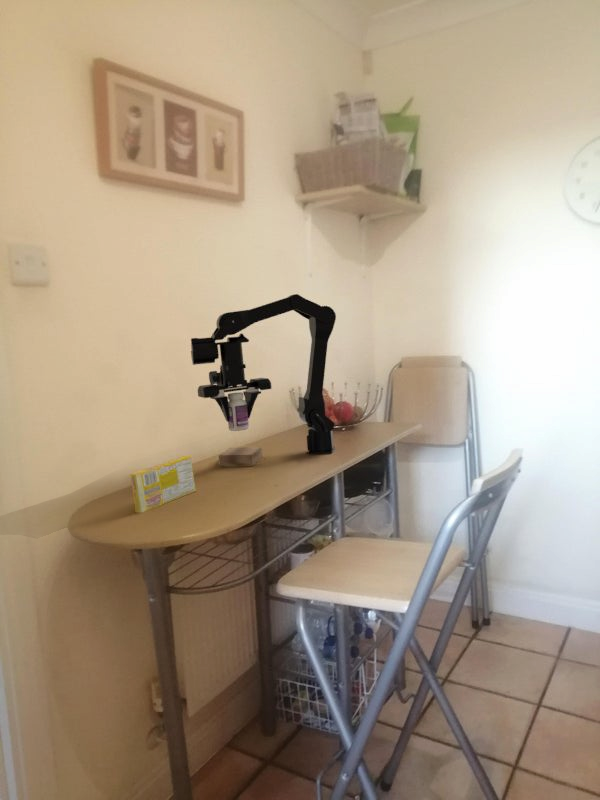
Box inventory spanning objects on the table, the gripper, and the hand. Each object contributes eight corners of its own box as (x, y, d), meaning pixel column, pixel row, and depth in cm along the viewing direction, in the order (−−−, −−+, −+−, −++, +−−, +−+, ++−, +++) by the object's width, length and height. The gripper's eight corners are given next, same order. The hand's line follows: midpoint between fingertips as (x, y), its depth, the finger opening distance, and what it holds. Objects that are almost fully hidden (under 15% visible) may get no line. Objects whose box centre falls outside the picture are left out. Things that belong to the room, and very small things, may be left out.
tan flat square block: (262, 457, 167) (261, 446, 167) (252, 465, 158) (251, 454, 158) (230, 458, 169) (229, 447, 169) (219, 466, 160) (218, 455, 160)
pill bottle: (250, 427, 165) (247, 391, 164) (247, 430, 160) (243, 393, 158) (231, 428, 166) (227, 392, 164) (226, 431, 160) (223, 395, 159)
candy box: (189, 491, 139) (185, 455, 138) (196, 491, 138) (192, 455, 137) (134, 512, 126) (129, 473, 125) (141, 513, 125) (136, 474, 124)
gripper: (252, 356, 172) (258, 412, 174) (188, 364, 163) (194, 421, 165) (269, 357, 162) (274, 416, 164) (201, 365, 153) (208, 426, 155)
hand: (238, 420), depth 162 cm, fingers closed on pill bottle, 5 cm apart
